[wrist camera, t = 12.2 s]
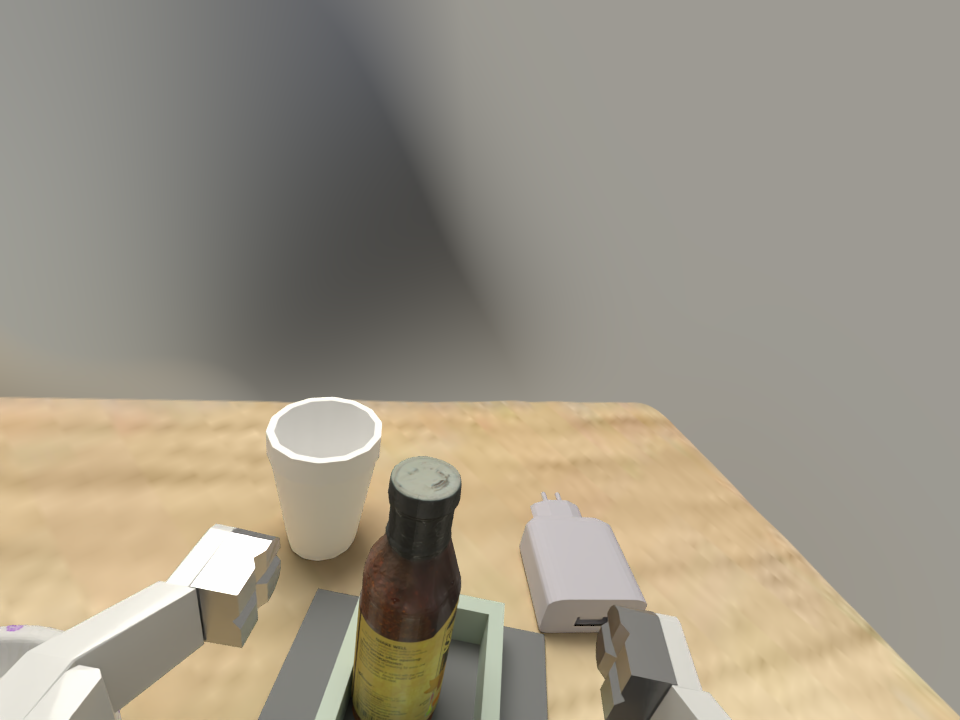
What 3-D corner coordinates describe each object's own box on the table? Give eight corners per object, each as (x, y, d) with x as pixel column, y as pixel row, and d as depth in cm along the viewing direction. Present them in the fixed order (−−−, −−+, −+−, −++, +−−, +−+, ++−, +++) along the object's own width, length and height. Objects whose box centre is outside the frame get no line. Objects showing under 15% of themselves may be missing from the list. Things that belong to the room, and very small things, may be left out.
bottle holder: (299, 794, 28) (299, 762, 26) (363, 606, 39) (366, 575, 37) (482, 832, 28) (495, 802, 26) (495, 633, 39) (504, 603, 37)
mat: (200, 847, 25) (200, 844, 25) (318, 591, 40) (318, 588, 40) (553, 918, 25) (555, 916, 25) (543, 637, 40) (544, 634, 40)
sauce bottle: (448, 732, 32) (506, 515, 24) (356, 766, 29) (387, 535, 21) (422, 643, 37) (462, 441, 29) (342, 665, 34) (363, 450, 26)
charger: (581, 510, 55) (632, 633, 42) (507, 506, 53) (536, 634, 40) (592, 480, 53) (650, 600, 40) (515, 475, 51) (550, 600, 38)
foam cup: (251, 564, 41) (243, 449, 35) (295, 492, 49) (294, 389, 43) (356, 583, 41) (365, 472, 35) (382, 507, 49) (393, 408, 44)
